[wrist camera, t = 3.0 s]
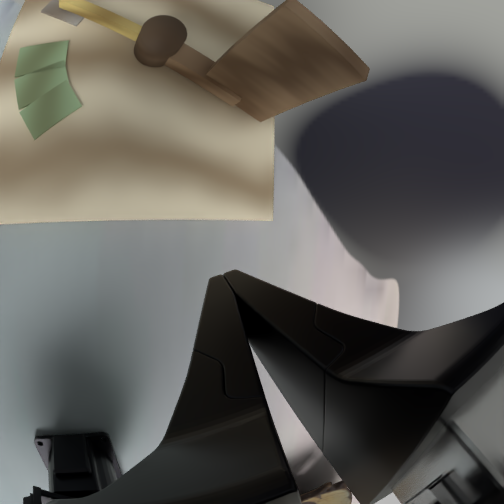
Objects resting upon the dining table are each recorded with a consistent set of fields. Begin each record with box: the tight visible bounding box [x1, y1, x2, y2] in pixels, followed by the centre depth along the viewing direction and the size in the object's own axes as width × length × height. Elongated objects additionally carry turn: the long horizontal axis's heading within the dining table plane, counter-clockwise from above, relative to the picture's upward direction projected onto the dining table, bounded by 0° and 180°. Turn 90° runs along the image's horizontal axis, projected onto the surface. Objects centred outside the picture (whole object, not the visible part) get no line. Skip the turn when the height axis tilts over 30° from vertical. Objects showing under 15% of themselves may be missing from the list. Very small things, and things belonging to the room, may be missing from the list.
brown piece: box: [59, 0, 370, 122], centre depth 12 cm, size 18×3×10 cm, turn 65°
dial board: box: [0, 0, 274, 225], centre depth 17 cm, size 20×21×1 cm
